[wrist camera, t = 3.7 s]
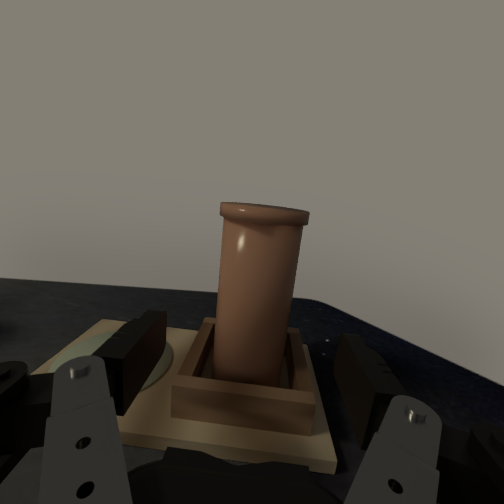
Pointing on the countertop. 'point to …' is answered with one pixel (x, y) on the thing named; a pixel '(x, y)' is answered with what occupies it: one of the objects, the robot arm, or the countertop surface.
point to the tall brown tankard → (255, 291)
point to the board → (220, 403)
